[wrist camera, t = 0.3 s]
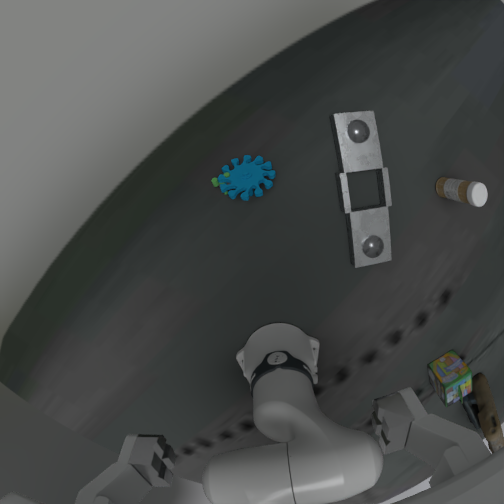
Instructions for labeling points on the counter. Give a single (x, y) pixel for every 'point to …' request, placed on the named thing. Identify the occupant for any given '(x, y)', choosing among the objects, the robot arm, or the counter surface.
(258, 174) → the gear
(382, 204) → the grey long flat block
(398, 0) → the counter surface
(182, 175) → the counter surface
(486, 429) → the brown frame
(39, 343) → the counter surface
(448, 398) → the chalk box
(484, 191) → the sprinkles bottle
